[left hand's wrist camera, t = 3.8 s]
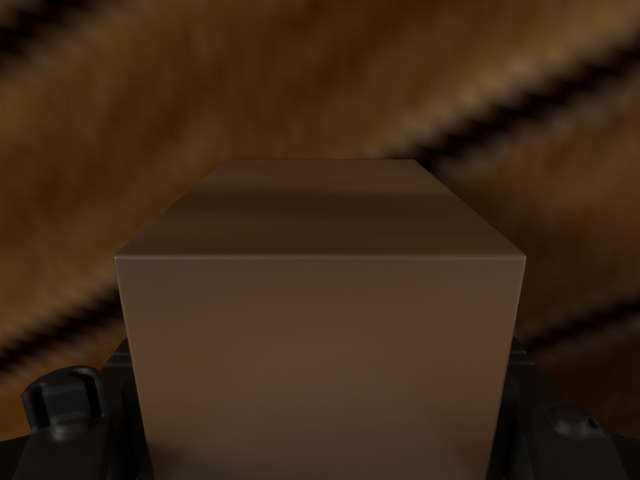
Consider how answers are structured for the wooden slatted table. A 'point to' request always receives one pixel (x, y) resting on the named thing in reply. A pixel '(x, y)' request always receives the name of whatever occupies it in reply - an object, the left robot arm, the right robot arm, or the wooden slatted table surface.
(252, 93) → the wooden slatted table surface
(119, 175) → the wooden slatted table surface
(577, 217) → the wooden slatted table surface
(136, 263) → the bar
